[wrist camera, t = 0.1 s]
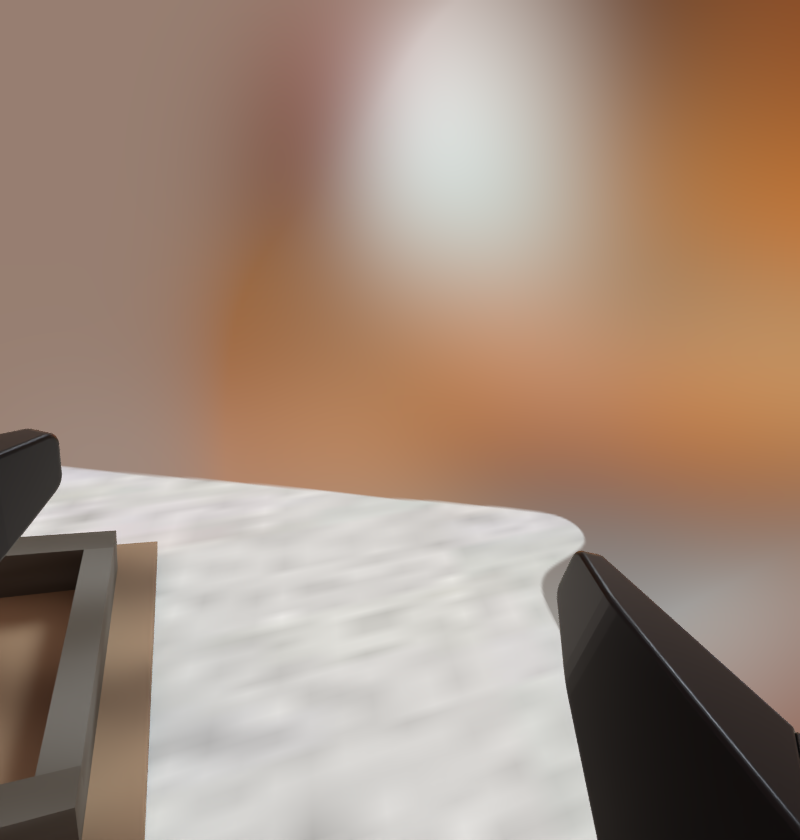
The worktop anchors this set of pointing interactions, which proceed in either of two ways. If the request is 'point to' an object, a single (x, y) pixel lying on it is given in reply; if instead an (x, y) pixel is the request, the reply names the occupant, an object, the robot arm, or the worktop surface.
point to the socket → (75, 686)
